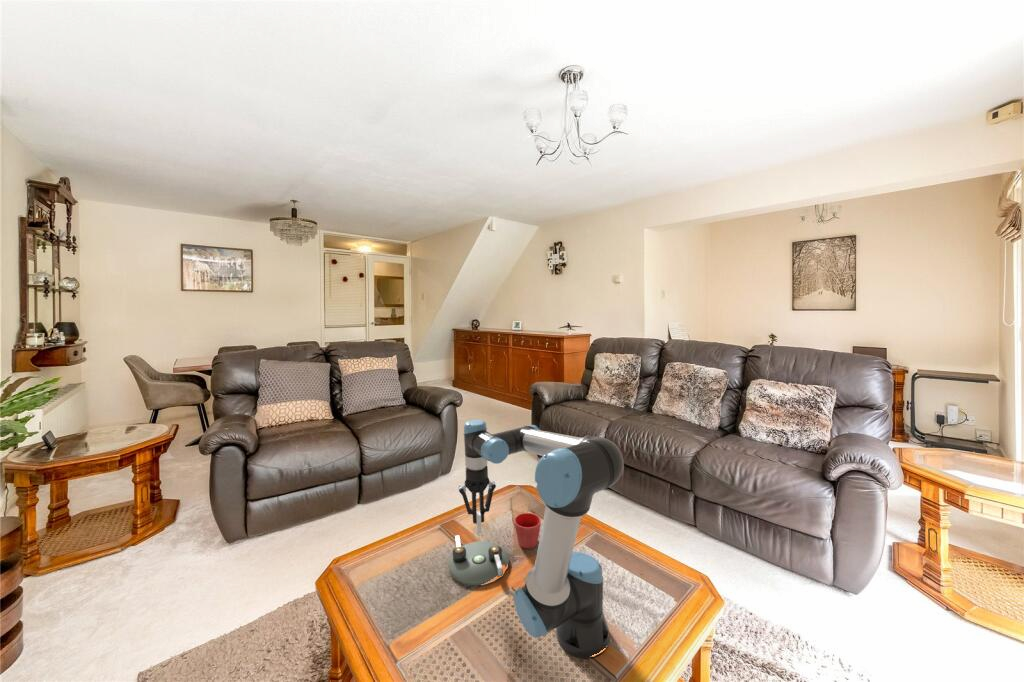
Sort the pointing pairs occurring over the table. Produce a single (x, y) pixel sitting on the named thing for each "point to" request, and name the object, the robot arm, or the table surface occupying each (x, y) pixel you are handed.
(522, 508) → the table surface
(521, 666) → the table surface
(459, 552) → the knob left
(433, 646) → the table surface
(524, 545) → the flower pot
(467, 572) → the plate
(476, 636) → the table surface
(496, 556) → the knob right
